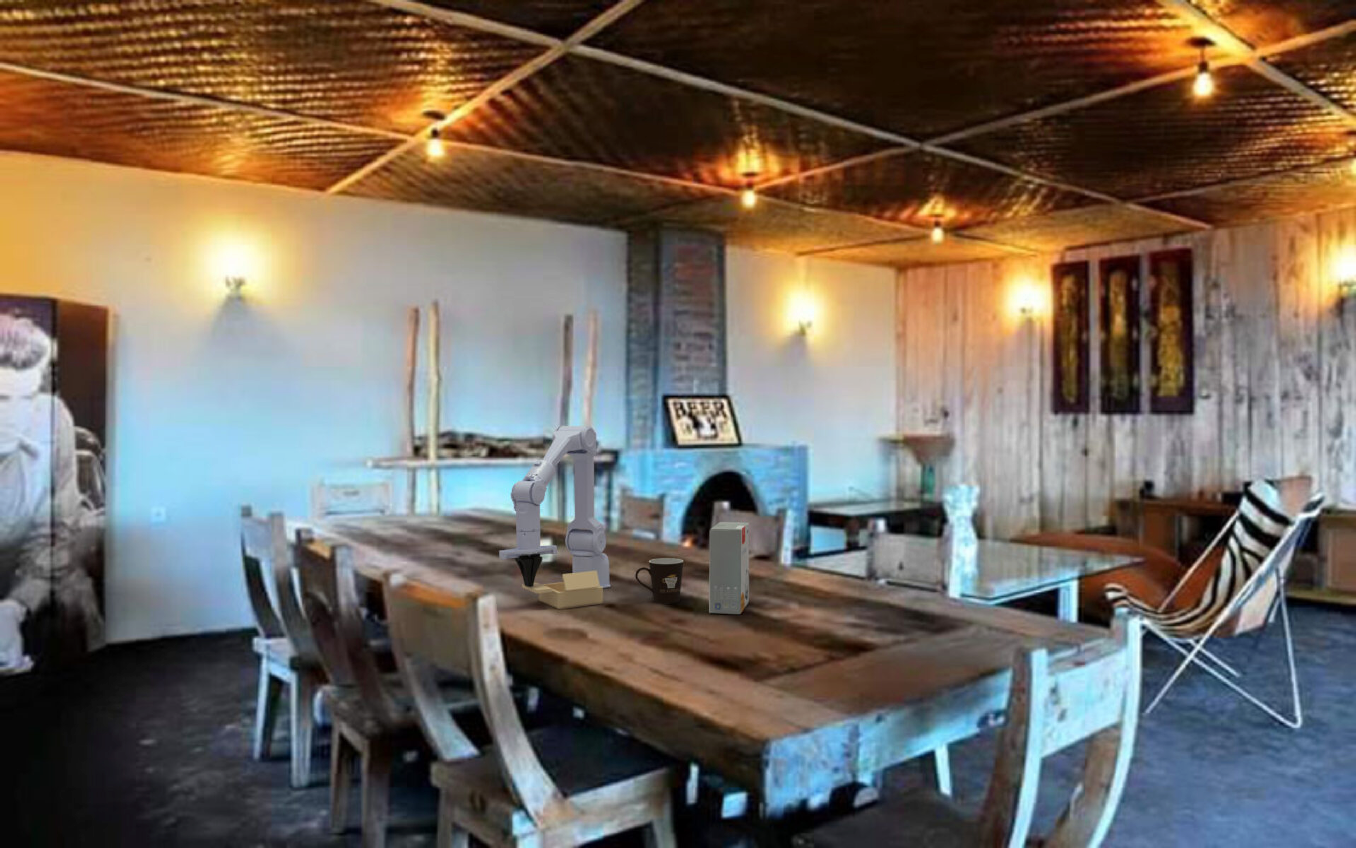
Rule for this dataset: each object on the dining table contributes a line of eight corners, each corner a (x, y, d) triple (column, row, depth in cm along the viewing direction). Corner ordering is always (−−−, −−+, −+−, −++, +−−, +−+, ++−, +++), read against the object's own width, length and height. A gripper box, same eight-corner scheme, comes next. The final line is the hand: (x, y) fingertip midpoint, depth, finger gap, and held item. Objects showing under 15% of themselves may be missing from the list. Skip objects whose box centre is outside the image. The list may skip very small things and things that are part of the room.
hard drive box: (741, 615, 218) (740, 529, 218) (708, 614, 220) (708, 529, 219) (749, 601, 234) (749, 521, 233) (719, 600, 235) (718, 520, 235)
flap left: (595, 571, 232) (596, 570, 232) (598, 587, 231) (599, 586, 230) (561, 575, 228) (563, 574, 227) (564, 591, 226) (566, 590, 226)
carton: (582, 595, 243) (581, 580, 243) (603, 603, 233) (602, 587, 232) (538, 600, 237) (538, 584, 236) (558, 609, 226) (558, 592, 226)
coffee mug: (685, 597, 239) (684, 558, 239) (682, 604, 230) (681, 564, 230) (639, 597, 240) (639, 558, 240) (635, 604, 232) (634, 563, 231)
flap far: (522, 584, 233) (522, 587, 233) (536, 590, 225) (536, 593, 225) (537, 582, 235) (537, 585, 235) (551, 588, 227) (551, 591, 227)
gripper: (547, 526, 236) (548, 580, 236) (493, 531, 228) (494, 587, 228) (560, 529, 230) (561, 584, 230) (505, 534, 222) (506, 591, 222)
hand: (528, 586), depth 229 cm, fingers closed
